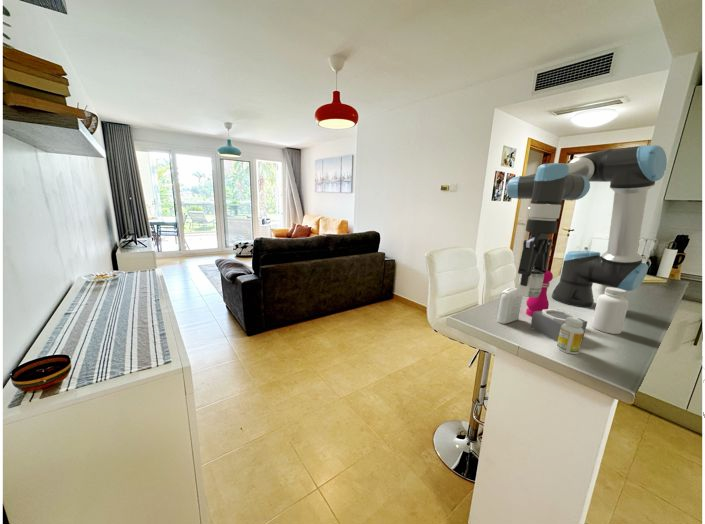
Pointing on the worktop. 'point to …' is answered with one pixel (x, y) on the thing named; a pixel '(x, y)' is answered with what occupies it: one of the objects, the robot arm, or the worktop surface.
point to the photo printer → (508, 306)
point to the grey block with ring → (551, 322)
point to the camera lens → (535, 283)
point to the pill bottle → (610, 311)
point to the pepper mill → (540, 296)
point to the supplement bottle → (570, 336)
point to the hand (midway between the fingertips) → (528, 293)
